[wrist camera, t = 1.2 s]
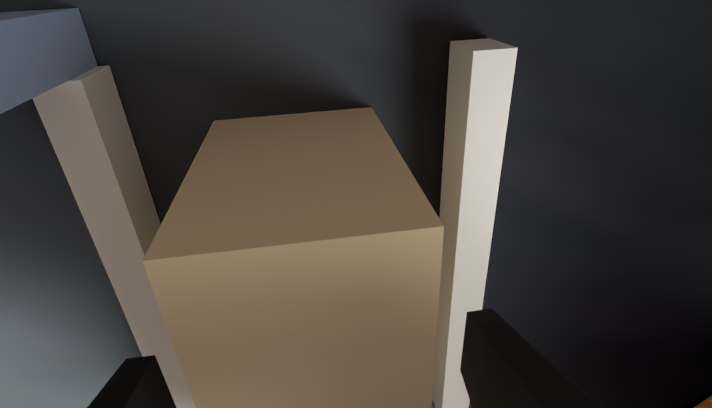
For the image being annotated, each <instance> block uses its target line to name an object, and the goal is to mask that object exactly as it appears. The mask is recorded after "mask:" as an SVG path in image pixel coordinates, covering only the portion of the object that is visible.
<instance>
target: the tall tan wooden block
mask: <svg viewBox="0 0 712 408" xmlns="http://www.w3.org/2000/svg"><path fill="white" fill-rule="evenodd" d="M443 234H444V225H443V224H442V222H441V220H440V219H439V217H438V215H437V214H436V212H435V211H434V209H433V207H432V206H431V204H430V202H429V201H428V199H427V197H426V196H425V194H424V193H423V191H422V189H421V188H420V186H419V184H418V183H417V181H416V179H415V178H414V176H413V174H412V173H411V171H410V170H409V168H408V166H407V165H406V163H405V161H404V160H403V158H402V156H401V155H400V153H399V152H398V150H397V148H396V147H395V145H394V143H393V142H392V140H391V138H390V137H389V135H388V133H387V132H386V130H385V129H384V127H383V125H382V124H381V122H380V120H379V119H378V117H377V115H376V114H375V112H374V111H373V109H372V107H367V108H355V109H344V110H332V111H320V112H308V113H297V114H285V115H273V116H262V117H250V118H238V119H226V120H215V121H213V123H212V125H211V127H210V129H209V131H208V133H207V135H206V137H205V139H204V141H203V143H202V145H201V147H200V149H199V151H198V153H197V155H196V157H195V159H194V160H193V162H192V164H191V166H190V168H189V170H188V172H187V174H186V176H185V178H184V180H183V182H182V184H181V186H180V188H179V190H178V192H177V194H176V196H175V198H174V200H173V202H172V204H171V206H170V208H169V210H168V212H167V213H166V215H165V217H164V219H163V221H162V223H161V225H160V227H159V229H158V231H157V233H156V235H155V237H154V239H153V241H152V243H151V245H150V247H149V249H148V251H147V253H146V255H145V257H144V259H143V261H142V262H143V264H144V267H145V270H146V273H147V275H148V278H149V281H150V284H151V286H152V289H153V292H154V294H155V297H156V300H157V303H158V305H159V308H160V311H161V314H162V316H163V319H164V322H165V324H166V327H167V330H168V333H169V335H170V338H171V341H172V344H173V346H174V349H175V352H176V354H177V357H178V360H179V363H180V365H181V368H182V371H183V374H184V376H185V379H186V382H187V384H188V387H189V390H190V393H191V395H192V398H193V401H194V404H195V406H196V408H432V395H433V380H434V366H435V351H436V337H437V322H438V307H439V293H440V278H441V264H442V249H443Z"/></svg>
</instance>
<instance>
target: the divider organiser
mask: <svg viewBox="0 0 712 408" xmlns="http://www.w3.org/2000/svg"><path fill="white" fill-rule="evenodd" d="M517 49H518V48H517V47H514V46H511V45H508V44H505V43H502V42H499V41H496V40H493V39H490V38H486V39H472V40H458V41H450V51H449V68H448V84H447V101H446V117H445V133H444V150H443V166H442V182H441V199H440V215H439V219H440V220H441V222H442V224H443V225H444V234H443V249H442V264H441V278H440V293H439V307H438V322H437V337H436V351H435V366H434V380H433V395H432V398H433V401H434V404H435V407H436V408H469V401H470V399H469V396H468V393H467V390H466V387H465V383H464V380H463V377H462V374H461V371H460V367H461V358H462V349H463V341H464V332H465V324H466V315H467V312H470V311H477V310H482V306H483V298H484V291H485V284H486V276H487V269H488V262H489V254H490V247H491V240H492V232H493V225H494V218H495V210H496V203H497V196H498V188H499V181H500V174H501V166H502V159H503V152H504V144H505V137H506V130H507V123H508V115H509V108H510V101H511V93H512V86H513V79H514V71H515V64H516V57H517ZM30 99H33V101H34V103H35V106H36V108H37V110H38V113H39V115H40V117H41V120H42V122H43V124H44V127H45V129H46V132H47V134H48V136H49V139H50V141H51V143H52V146H53V148H54V150H55V153H56V155H57V157H58V160H59V162H60V164H61V167H62V169H63V171H64V174H65V176H66V178H67V181H68V183H69V185H70V188H71V190H72V192H73V195H74V197H75V199H76V202H77V204H78V207H79V209H80V211H81V214H82V216H83V218H84V221H85V223H86V225H87V228H88V230H89V232H90V235H91V237H92V239H93V242H94V244H95V246H96V249H97V251H98V253H99V256H100V258H101V260H102V263H103V265H104V267H105V270H106V272H107V275H108V277H109V279H110V282H111V284H112V286H113V289H114V291H115V293H116V296H117V298H118V300H119V303H120V305H121V307H122V310H123V312H124V314H125V317H126V319H127V321H128V324H129V326H130V328H131V331H132V333H133V335H134V338H135V340H136V343H137V345H138V347H139V350H140V352H141V354H142V357H144V356H152V355H155V356H156V359H157V361H158V364H159V366H160V369H161V371H162V374H163V376H164V378H165V381H166V383H167V386H168V388H169V391H170V393H171V396H172V398H173V400H174V403H175V405H176V408H196V406H195V404H194V401H193V398H192V395H191V393H190V390H189V387H188V384H187V382H186V379H185V376H184V374H183V371H182V368H181V365H180V363H179V360H178V357H177V354H176V352H175V349H174V346H173V344H172V341H171V338H170V335H169V333H168V330H167V327H166V324H165V322H164V319H163V316H162V314H161V311H160V308H159V305H158V303H157V300H156V297H155V294H154V292H153V289H152V286H151V284H150V281H149V278H148V275H147V273H146V270H145V267H144V264H143V262H142V261H143V259H144V257H145V255H146V253H147V251H148V249H149V247H150V245H151V243H152V241H153V239H154V237H155V235H156V233H157V231H158V229H159V227H160V225H161V224H160V221H159V218H158V214H157V211H156V208H155V205H154V202H153V199H152V196H151V193H150V190H149V187H148V184H147V180H146V177H145V174H144V171H143V168H142V165H141V162H140V159H139V156H138V153H137V150H136V146H135V143H134V140H133V137H132V134H131V131H130V128H129V125H128V122H127V119H126V116H125V112H124V109H123V106H122V103H121V100H120V97H119V94H118V91H117V88H116V85H115V82H114V78H113V75H112V72H111V69H110V66H109V65H107V66H97V63H96V60H95V57H94V54H93V51H92V48H91V45H90V42H89V39H88V36H87V33H86V30H85V27H84V24H83V21H82V18H81V15H80V12H79V9H78V8H66V9H49V10H31V11H14V12H0V114H1V113H3V112H6V111H8V110H10V109H12V108H14V107H16V106H18V105H20V104H22V103H24V102H26V101H28V100H30Z"/></svg>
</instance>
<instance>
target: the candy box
mask: <svg viewBox="0 0 712 408" xmlns="http://www.w3.org/2000/svg"><path fill="white" fill-rule="evenodd" d="M694 408H712V396H710V397H709V398H707V399H705V400H704V401H702V402H701V403H699V404H698V405H696V406H695V407H694Z"/></svg>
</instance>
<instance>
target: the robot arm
mask: <svg viewBox="0 0 712 408" xmlns="http://www.w3.org/2000/svg"><path fill="white" fill-rule="evenodd" d="M460 371H461V374H462V377H463V380H464V383H465V387H466V390H467V393H468V396H469V399H470V402H471V404H472V407H473V408H604V407H603V406H602V405H600V404H599V403H598V402H597V401H595V400H594V399H593V398H592V397H591V396H589V395H588V394H587V393H586V392H584V391H583V390H582V389H581V388H580V387H578V386H577V385H576V384H575V383H574V382H573V381H571V380H570V379H569V378H568V377H567V376H566V375H564V374H563V373H562V372H561V371H560V370H559V369H557V368H556V367H555V366H554V365H553V364H552V363H551V362H549V361H548V360H547V359H546V358H545V357H544V356H543V355H542V354H540V353H539V352H538V351H537V350H536V349H535V348H534V347H533V346H532V345H531V344H529V343H528V342H527V341H526V340H525V339H524V338H523V337H522V336H521V335H520V334H519V333H517V332H516V331H515V330H514V329H513V328H512V327H511V326H510V325H509V324H508V323H507V322H506V321H505V320H504V319H502V318H501V317H500V316H499V315H498V314H497V313H496V312H495V311H494V310H492V309H484V310H477V311H470V312H467V315H466V324H465V332H464V341H463V349H462V358H461V367H460ZM87 408H176V405H175V403H174V400H173V398H172V396H171V393H170V391H169V388H168V386H167V383H166V381H165V378H164V376H163V374H162V371H161V369H160V366H159V364H158V361H157V359H156V356H155V355H152V356H144V357H137V358H130V359H126V360H125V361H124V362H123V364H122V365H121V366H120V367H119V368H118V370H117V371H116V372H115V373H114V375H113V376H112V377H111V378H110V380H109V381H108V382H107V383H106V385H105V386H104V387H103V388H102V390H101V391H100V392H99V394H98V395H97V396H96V397H95V399H94V400H93V401H92V402H91V404H90V405H89V406H88V407H87Z"/></svg>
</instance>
